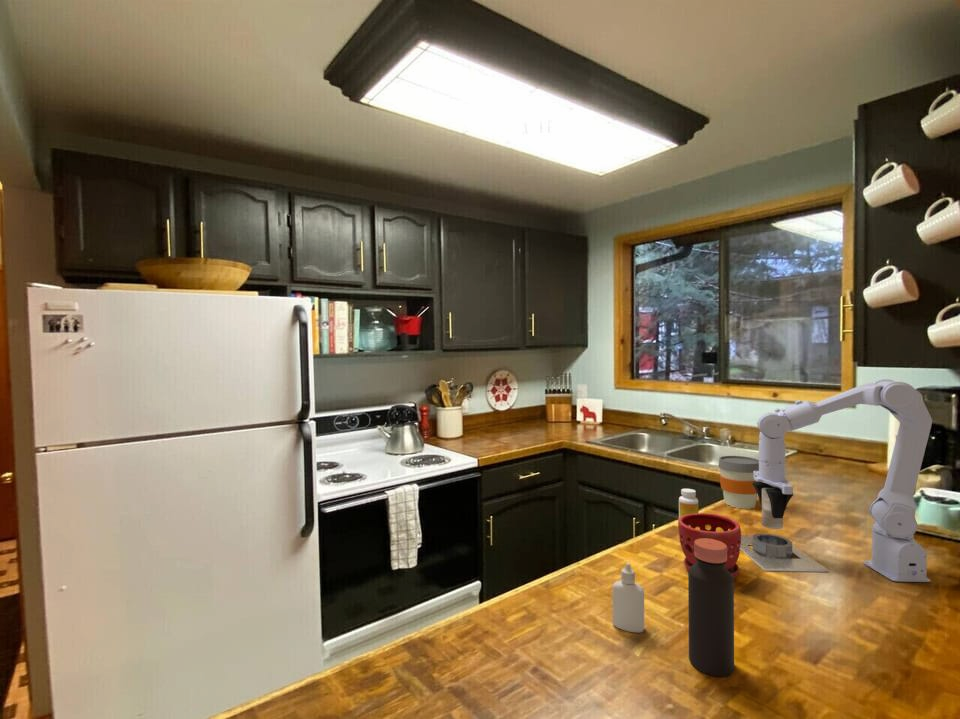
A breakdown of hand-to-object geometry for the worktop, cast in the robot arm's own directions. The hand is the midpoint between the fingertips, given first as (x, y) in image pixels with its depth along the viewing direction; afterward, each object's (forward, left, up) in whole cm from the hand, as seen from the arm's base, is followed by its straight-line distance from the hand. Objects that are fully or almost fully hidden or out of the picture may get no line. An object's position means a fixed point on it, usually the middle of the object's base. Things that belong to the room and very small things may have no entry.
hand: (772, 514), depth 120 cm
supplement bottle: (+21, +13, -10) cm, 27 cm away
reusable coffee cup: (+38, -10, -10) cm, 40 cm away
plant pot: (-11, +20, -10) cm, 25 cm away
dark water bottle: (-44, +33, -10) cm, 56 cm away
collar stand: (0, 0, -10) cm, 10 cm away
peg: (0, 0, -3) cm, 3 cm away
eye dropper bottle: (-34, +44, -10) cm, 57 cm away
